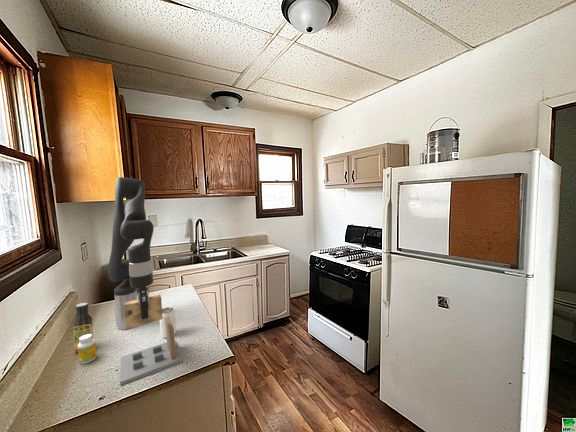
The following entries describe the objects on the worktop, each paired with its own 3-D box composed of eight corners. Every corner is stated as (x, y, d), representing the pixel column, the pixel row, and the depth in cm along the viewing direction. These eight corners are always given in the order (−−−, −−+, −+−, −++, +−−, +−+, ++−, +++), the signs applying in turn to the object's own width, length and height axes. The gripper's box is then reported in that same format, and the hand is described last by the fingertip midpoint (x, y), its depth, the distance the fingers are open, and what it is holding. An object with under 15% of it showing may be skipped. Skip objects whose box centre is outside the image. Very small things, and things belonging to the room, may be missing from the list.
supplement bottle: (82, 365, 94) (79, 342, 93) (76, 361, 97) (74, 338, 96) (98, 357, 99) (96, 335, 98) (93, 353, 102) (90, 331, 101)
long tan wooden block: (126, 330, 89) (124, 306, 88) (126, 325, 92) (124, 302, 91) (163, 320, 95) (161, 297, 94) (161, 316, 99) (160, 294, 98)
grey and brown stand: (120, 385, 84) (117, 349, 83) (121, 359, 97) (118, 328, 96) (182, 361, 95) (180, 329, 94) (175, 342, 108) (173, 313, 107)
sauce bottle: (73, 355, 101) (67, 309, 99) (77, 347, 106) (72, 303, 105) (92, 350, 104) (88, 305, 102) (96, 342, 109) (91, 300, 108)
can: (169, 339, 110) (168, 313, 109) (157, 338, 112) (155, 312, 111) (179, 331, 117) (177, 307, 116) (167, 330, 118) (165, 306, 117)
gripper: (154, 275, 89) (157, 320, 90) (150, 266, 100) (153, 307, 102) (129, 280, 84) (133, 327, 86) (129, 270, 96) (132, 312, 98)
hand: (144, 316), depth 94 cm, fingers closed on long tan wooden block, 3 cm apart
